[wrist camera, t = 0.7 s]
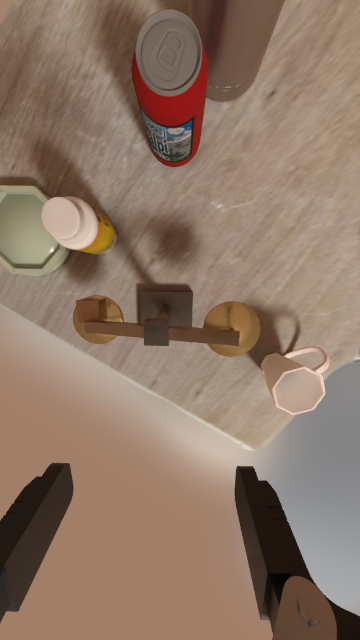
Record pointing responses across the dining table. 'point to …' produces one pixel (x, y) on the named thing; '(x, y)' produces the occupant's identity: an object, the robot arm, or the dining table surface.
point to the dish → (27, 233)
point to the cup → (294, 381)
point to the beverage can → (171, 85)
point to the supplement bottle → (78, 225)
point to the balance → (169, 322)
